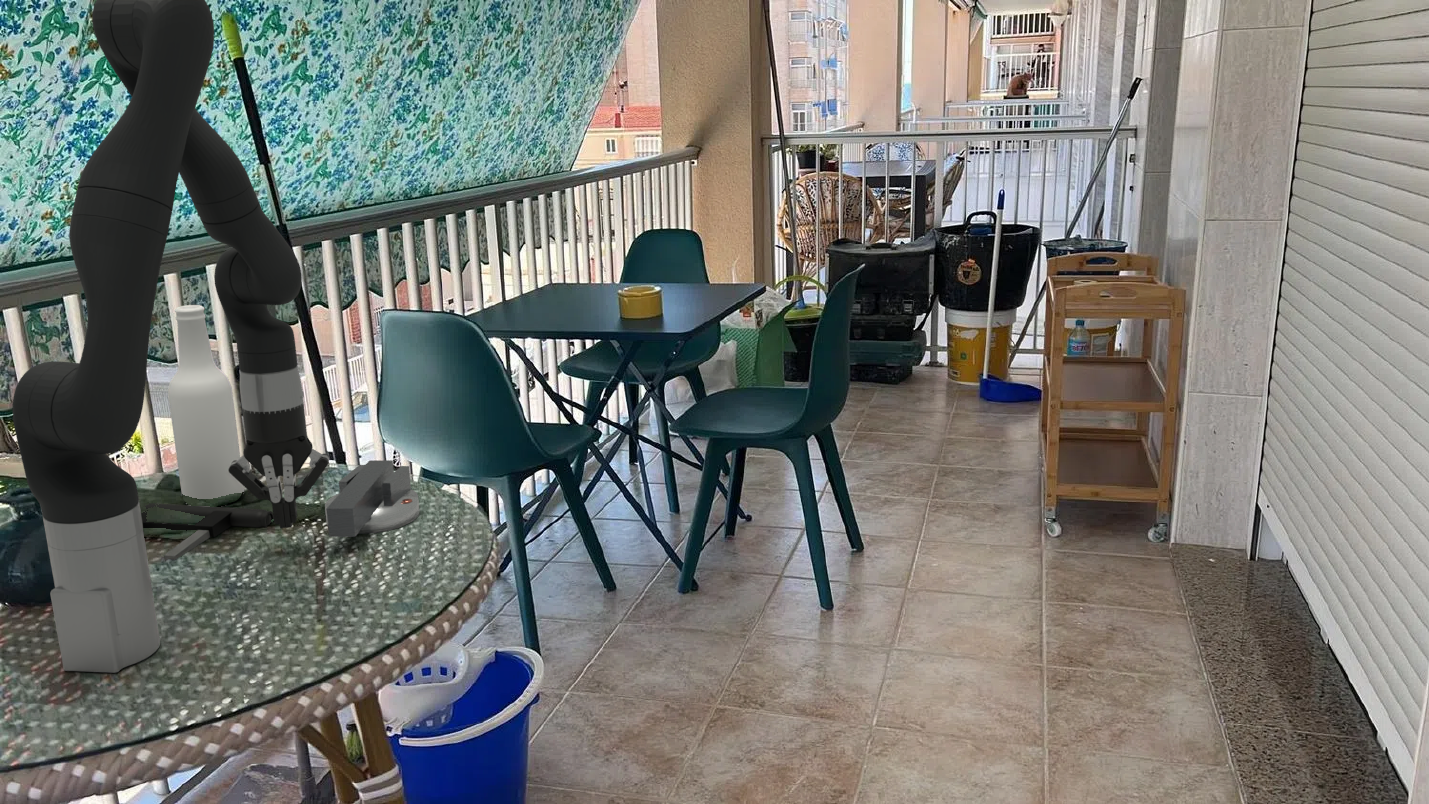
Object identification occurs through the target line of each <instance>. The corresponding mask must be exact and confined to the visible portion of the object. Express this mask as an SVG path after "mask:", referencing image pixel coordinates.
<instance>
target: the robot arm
mask: <svg viewBox="0 0 1429 804" xmlns="http://www.w3.org/2000/svg"><path fill="white" fill-rule="evenodd" d="M91 15H92V17H91V19H92V22H91V23H92V27H93V32H94V36H95V39H96V41H97V43H98V45H99V47H100V49H101V51H102V53H103V55H104V57H105V58H106V60H107V62H108V64H109V65H110V67H111V68H112V70H113V71H114V72H115V74H116V76H117V77H118V79H119V81H120V82H121V83H122V85H123V86H124V88H125V89H126V91H127V92H128V93H129V95H130V97H131V99H130V101H129V103H128V105H127V107H126V108H125V110H124V112H123V114H122V115H121V116H120V118H119V119H118V120H117V122H116V123H115V124H114V125H113V127H112V128H111V129H110V130H109V132H108V133H107V135H106V136H105V137H104V139H103V140H102V141H101V142H100V144H99V145H98V146H97V148H95V150H94V151H93V153H92V155H90V157H89V159H88V161H87V162H86V164H85V166H84V167H83V170H82V171H81V174H80V178H79V181H78V185H77V187H76V188H77V190H76V193H75V199H74V204H73V206H72V207H73V208H72V212H71V216H70V217H71V218H70V222H69V223H70V224H69V231H68V232H69V233H68V234H69V235H68V237H69V238H68V239H69V245H70V250H71V254H72V258H73V261H74V265H75V268H76V270H77V271H76V272H77V273H78V277H79V281H80V284H81V286H82V290H83V294H84V297H85V302H86V308H87V323H86V331H85V338H84V342H83V343H84V344H83V349H82V353H81V356H80V360H79V363H78V362H71V361H70V362H68V361H56V360H55V361H45V362H42V363H39V364H36V365H34V366H32V367H31V368H29V369H27V371H26V372H25V373H23V375H22V377H20V379H19V381H18V383H17V385H16V386H15V390H14V394H13V399H12V420H13V421H12V422H13V427H14V428H13V429H14V432H15V436H16V441H17V446H18V450H19V454H20V458H21V461H22V466H23V470H24V473H25V479H26V482H27V485H28V487H29V490H30V491H31V493H32V495H33V497H34V498H35V499H36V500H37V502H38V504H39V506H40V510H41V515H42V520H43V525H44V532H45V537H46V544H47V549H48V555H49V559H50V560H49V561H50V566H51V571H52V577H53V583H54V587H53V589H51V591H50V599H51V600H50V601H51V605H52V610H53V617H54V621H55V629H56V633H57V634H56V635H57V640H58V646H59V650H60V655H61V657H60V658H61V661H62V667H63V671H67V672H93V673H114V674H115V673H118V672H120V670H122V669H123V668H126V667H129V666H132V665H134V664H137V663H139V662H141V661H143V660H146V659H148V658H149V657H150V656H152V655H153V654H155V652H157V650H158V649H159V647H161V646H160V645H161V639H160V638H161V637H160V631H159V625H158V619H157V611H156V606H155V597H154V591H153V585H152V579H151V573H150V566H149V560H148V559H149V558H148V552H147V546H146V541H145V539H146V538H144V531H143V524H142V517H141V510H142V509H141V506H140V505H141V504H140V499H139V492H138V491H139V490H138V486H137V483H136V480H135V478H134V477H133V476H132V474H131V473H129V472H128V471H126V470H124V469H123V468H121V467H120V466H119V465H117V464H116V463H115V462H113V460H112V459H110V457H109V456H108V455H107V454H112V453H115V452H117V451H119V450H120V449H122V448H123V447H125V446H126V445H127V443H129V441H131V439H132V437H133V435H134V434H135V432H136V430H137V428H138V427H139V423H140V419H141V418H142V412H143V407H144V401H145V392H146V381H147V380H146V379H147V368H148V358H149V344H150V343H149V342H150V334H151V324H152V319H153V318H152V317H153V312H154V308H155V307H154V305H155V300H156V295H157V287H158V282H159V276H160V272H161V271H160V269H161V265H162V261H163V256H164V252H165V248H166V243H167V241H168V240H167V238H168V234H169V230H170V225H171V219H172V215H173V210H174V205H175V204H174V203H175V197H176V190H177V189H176V188H177V185H178V184H177V183H178V180H179V175H180V178H181V179H182V181H183V183H184V186H185V188H186V190H187V193H188V194H189V196H190V199H191V202H192V204H193V206H194V208H195V210H196V212H197V214H198V217H199V219H200V221H201V224H202V226H203V227H204V229H205V231H206V233H207V235H208V236H209V237H210V238H212V239H213V240H215V241H216V242H219V243H221V244H224V245H227V246H230V248H229V249H227V250H225V251H224V252H222V253H221V255H220V256H219V257H218V259H217V261H216V263H215V269H214V275H213V276H214V287H215V291H216V294H217V297H218V300H219V302H220V305H221V307H222V310H223V312H224V315H225V318H226V320H227V322H228V325H229V327H230V329H231V331H232V333H233V336H234V338H235V342H236V352H237V358H238V359H237V361H238V367H239V368H238V369H239V392H240V395H239V396H240V401H241V412H242V416H243V417H242V419H243V425H244V435H245V446H244V448H243V452H242V453H243V454H242V455H241V456H240V458H239V459H238V460H234V461H233V462H232V463H231V465H230V467H229V473H230V474H231V475H232V476H233V477H235V478H236V479H237V480H238V481H239V482H240V483H241V484H242V485H243V486H244V489H245V488H246V489H247V491H248V492H250V493H251V494H252V495H253V496H254V497H255V498H256V499H258V500H266V501H270V503H271V507H272V512H273V517H274V522H273V523H275V526H276V525H279V529H289V528H292V527H293V525H294V524H296V523H297V522H296V521H297V519H298V508H297V500H296V499H297V498H300V497H306V496H307V495H308V493H309V492H310V490H311V489H312V488H313V487H314V485H315V483H316V482H317V481H318V479H319V478H320V476H321V475H322V474H323V472H324V471H325V469H327V467H328V464H329V461H330V455H329V454H327V453H320V452H319V451H317V449H314V448H313V443H312V442H311V440H310V439H309V437H308V431H307V430H308V429H307V421H306V413H305V412H306V411H305V402H304V397H305V396H304V390H303V386H302V385H303V383H302V378H301V375H300V371H299V366H298V358H297V356H298V355H297V350H296V349H297V348H296V340H295V339H296V338H295V334H294V333H295V332H294V330H293V328H292V326H291V325H290V324H288V323H287V322H285V321H282V320H280V319H278V318H276V317H274V316H273V315H272V314H271V313H270V311H269V309H268V306H267V305H269V306H282V305H286V304H289V303H291V302H293V300H295V299H296V298H297V296H298V295H299V294H300V290H301V287H302V283H303V277H302V276H303V275H302V268H301V266H300V263H299V260H298V258H297V256H296V254H295V252H294V251H293V250H292V248H291V246H290V245H289V243H288V242H287V241H286V239H285V238H284V237H283V236H282V233H280V231H279V230H278V228H277V227H276V226H275V225H274V223H273V222H272V221H271V220H270V218H269V217H268V216H267V215H266V214H265V213H264V211H263V209H262V205H261V203H260V201H259V199H258V196H257V193H256V191H255V188H254V186H253V184H252V182H251V179H250V177H249V174H248V171H246V168H245V166H244V165H243V163H242V161H241V160H240V158H239V157H238V155H237V154H236V153H235V150H233V149H232V148H231V146H230V144H228V143H227V141H226V140H224V138H223V137H222V136H221V135H220V134H219V133H218V132H217V131H216V130H215V129H214V127H212V125H210V124H209V123H208V122H207V121H206V120H205V118H204V117H203V116H202V115H201V114H200V113H199V111H198V110H197V108H196V106H197V104H198V101H199V97H200V95H201V91H202V88H203V85H204V82H205V78H206V76H207V72H208V69H209V66H210V63H211V58H212V55H213V50H214V44H215V23H214V18H213V16H212V15H213V14H212V11H211V9H210V6H209V5H208V3H207V1H206V0H96V1H95V3H94V5H93V9H92V13H91ZM308 459H309V463H308V464H309V467H310V470H309V471H308V472H307V474H306V475H305V477H304V478H303V480H302V481H301V482H300V483H299V484H297V485H296V477H297V476H296V475H297V473H299V472H300V470H301V469H302V467H303V466H304V465H305V463H306V461H307V460H308ZM250 464H251V465H250ZM251 466H252V467H253V468H254V469H255V470H257V471H258V472H259V474H260V475H261V476H264V477H265V481H266V485H265V483H263V482H262V480H260V479H259V478H258V477H257V476H256V475H255V474H254V473H253V472H252V471H251ZM281 477H282V479H283V480H282V481H283V488H282V482H281Z"/></svg>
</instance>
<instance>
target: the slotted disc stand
mask: <svg viewBox="0 0 1429 804" xmlns="http://www.w3.org/2000/svg"><path fill="white" fill-rule="evenodd" d="M365 465H366V464H359V465H357V466H356V467H355V468H354V469H353V470H351V471H350V472H349V473H348V474H346V475H345V476H344V477H342V478H341V479H340V480H339V481H338V486H339V487H338V488H339V493H337V494H335V495H333V496H332V497H330V498H328V499H327V501H326V502H325V504H324V511H325V521H326V525H327V526H328V521H327V511H326V508H327V507H328V506H329V505H330V504H331V503H332V502H333V501H334V499H335V498H336V497H337V496H338V495H339V494H340V493H341V492H342V491H343V489H344V488H345V487H346V486H347V485H348V484H349V483H350V482H351V480H352V479H353V478H354V477H355V476H356V475H357V474H358V473H359V472H360V470H361V469H362V468H363V467H364V466H365ZM382 488H383V502H382V503H381V504H380V505H379V507H378V508H377V509H376V511H375V512H374V513H373V514H372V516H371V517H370V518H369V520H368V521H367V522H366V524H365V525H364V526H363V527H362V529H361V530H360V531H359V533H358V534H359V535H361V534H362V535H364V534H373V533H375V534H377V533H382V532H388V531H392V530H396V529H398V528H402V527H404V526H407V525H409V524H410V523H412V522H414V521H415V520H417V518H418V517H419V516H420V503H419V494H418V493H417V491H415V490H414V489H411V488H412V486H411V472H410V466H408V465H401V466H399V467H398V468H397V469H396V470H394V473H393V474H392V475H390V476H389V477H388V478H387V479H386V480H385V481H384V482H383V483H382ZM358 534H357V535H358Z"/></svg>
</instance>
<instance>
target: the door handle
mask: <svg viewBox="0 0 1429 804" xmlns="http://www.w3.org/2000/svg"><path fill="white" fill-rule="evenodd" d="M155 504H156V505H157V507H159V508H164V509H170V510H175V511H181V512H185V513H190V514H194V515H199V516H205V518H203V519H202V520H201V521H199V522H198V523H196V524H195V525H188V524H171V523H154V522H146V521H147V519H146V517H147V516H146V515H147V512H146V511H145V512H146V513H145V512H143V513H141V517H142V524H143V528H166V529H171V530H186V531H187V530H197V531H196V532H195V533H193V534H192V535H191V536H189V537H188V538H186V539H185V540H181V542H180V543H178V544H177V545H176V546H174V547H173V548H172V549H170V550H169V551H168V552H166V553H164V555H163V558H164V562H167V561H168V560H171V561H172V560H173V561H175V560H178V559H180V557H182V556H184V555H185V554H187V553H189V552H190V551H191V550H193V549H194V548H196V547H198V546H199V545H201V544H202V543H204V542H205V541H207V540H208V539H210V538H216V537H217V536H218V535H220V534H222V533H223V532H225V531H226V530H228V529H229V528H231V527H238V528H239V527H241V528H256V529H258V528H259V529H260V528H267V527H268V526H269V525H271V524H272V523H271V520H272V519H274V517H273V511H271V510H266V509H262V508H261V509H259V508H244V507H242V508H241V507H225V506H221V507H210V506H191V505H187V504H186V505H185V504H172V503H171V504H168V503H153V502H151V503H148V505H147V504H146V505H145V507H146V509H148V508H151V507H152V508H153V507H154V506H155V507H156V505H155ZM158 504H159V505H158ZM147 511H148V510H147ZM270 523H271V524H270Z"/></svg>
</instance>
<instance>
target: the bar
mask: <svg viewBox="0 0 1429 804" xmlns="http://www.w3.org/2000/svg"><path fill="white" fill-rule="evenodd" d="M364 465H365V466H364V467H363V468H362V469H361V470H360V472H359V473H358V474H357V475H356V476H355V477H354V478H353V479H352V480H351V482H350V483H349V484H348V485H347V486H346V487H345V488H344V489H343V491H342V492H341V493H340V492H339V493H340V494H339V493H338V494H339V495H338V496H337V497H336V498H335V499H334V501H333V502H332V503H331V504H330V505H329V506H328V507H327V508H326V511H327V521H328V525H327V528H328V529H327V530H328V537H330V538H332V537H335V538H336V537H337V538H338V537H339V538H341V537H344V538H345V537H353V538H355V537H356V536H357V535H358V533H359V531H360V530H361V529H362V527H363V526H364V525H365V524H366V522H367V521H368V520H369V518H370V517H371V516H372V514H373V513H374V512H375V511H376V509H377V508H378V507H379V505H380V504H381V503H382V502H383V488H382V483H383V482H384V481H385V480H386V479H387V478H388V477H389V476H390V475H392V474H393V473H394V472H395V470H394V468H395V467H394V460H393V459H391V460H386V459H385V460H384V459H383V460H379V459H378V460H374V459H373V460H368V461H367V463H365V464H364ZM327 521H326V522H327Z"/></svg>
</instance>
